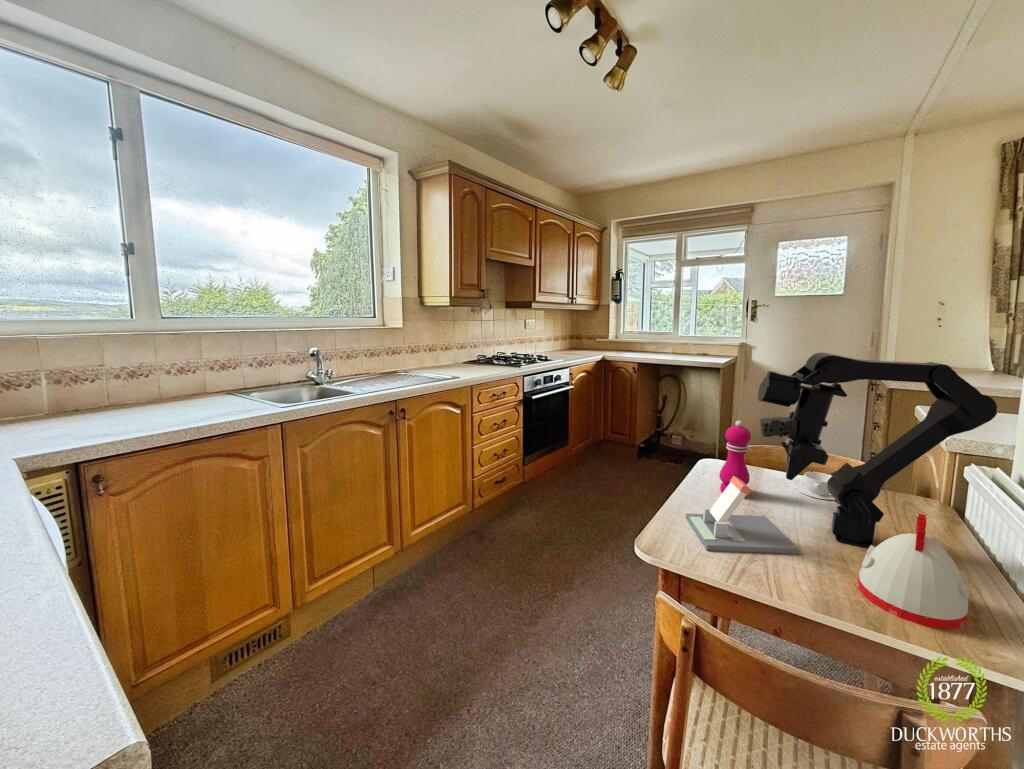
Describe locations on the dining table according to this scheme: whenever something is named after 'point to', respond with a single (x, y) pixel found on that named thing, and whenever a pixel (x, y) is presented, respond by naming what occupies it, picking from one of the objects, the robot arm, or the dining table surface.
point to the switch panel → (740, 534)
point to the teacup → (816, 485)
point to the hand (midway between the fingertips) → (788, 479)
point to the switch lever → (729, 500)
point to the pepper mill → (735, 455)
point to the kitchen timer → (915, 580)
